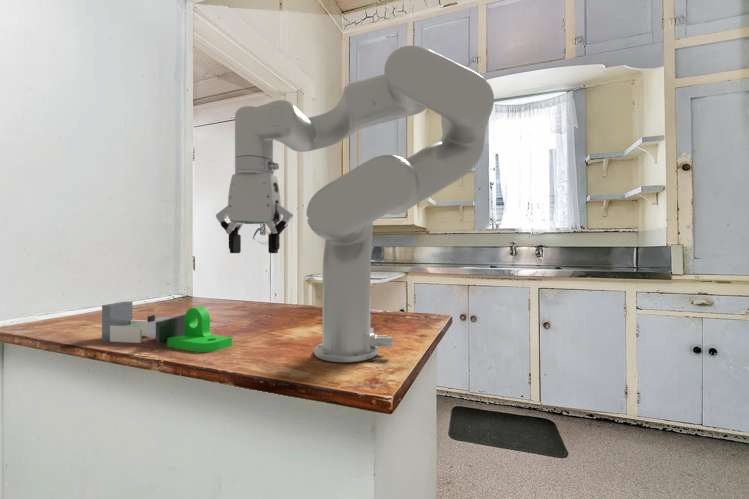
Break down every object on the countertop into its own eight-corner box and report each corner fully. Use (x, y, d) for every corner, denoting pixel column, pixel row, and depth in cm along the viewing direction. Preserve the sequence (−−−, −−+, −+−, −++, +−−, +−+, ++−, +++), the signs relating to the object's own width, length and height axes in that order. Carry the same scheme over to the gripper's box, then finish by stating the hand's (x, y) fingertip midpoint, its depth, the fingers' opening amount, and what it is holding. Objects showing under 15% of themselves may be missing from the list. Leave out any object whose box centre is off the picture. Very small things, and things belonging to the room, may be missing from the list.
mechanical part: (167, 347, 73) (167, 310, 73) (192, 340, 78) (192, 305, 78) (208, 354, 68) (208, 314, 68) (232, 346, 74) (232, 309, 74)
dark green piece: (191, 333, 81) (191, 311, 81) (159, 345, 71) (159, 319, 71) (165, 332, 82) (165, 310, 82) (130, 343, 72) (130, 318, 72)
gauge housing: (160, 336, 82) (160, 302, 82) (139, 342, 76) (139, 306, 76) (124, 334, 83) (124, 301, 83) (101, 341, 77) (102, 305, 77)
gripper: (300, 172, 75) (300, 253, 75) (225, 174, 77) (225, 253, 77) (287, 163, 67) (287, 253, 67) (204, 166, 70) (204, 253, 69)
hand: (254, 252), depth 72 cm, fingers open, 7 cm apart
